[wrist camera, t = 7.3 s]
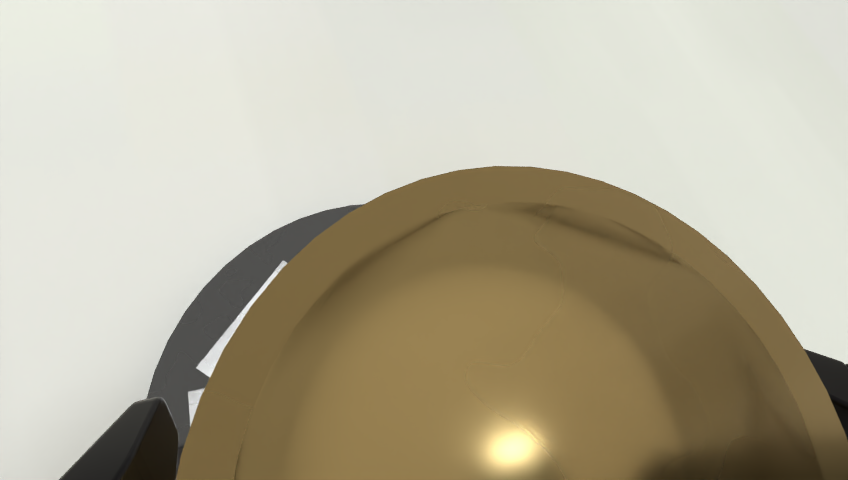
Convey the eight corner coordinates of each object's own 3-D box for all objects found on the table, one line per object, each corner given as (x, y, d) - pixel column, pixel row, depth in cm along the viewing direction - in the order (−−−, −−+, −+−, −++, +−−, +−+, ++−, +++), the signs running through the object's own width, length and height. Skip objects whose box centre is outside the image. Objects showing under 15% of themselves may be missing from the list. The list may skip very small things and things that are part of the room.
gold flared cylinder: (477, 507, 15) (988, 936, 3) (295, 518, 14) (69, 1196, 2) (469, 329, 17) (777, 185, 5) (308, 328, 16) (223, 143, 4)
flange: (645, 588, 16) (695, 620, 14) (164, 777, 13) (125, 863, 10) (523, 190, 21) (546, 164, 19) (139, 243, 17) (109, 220, 15)
